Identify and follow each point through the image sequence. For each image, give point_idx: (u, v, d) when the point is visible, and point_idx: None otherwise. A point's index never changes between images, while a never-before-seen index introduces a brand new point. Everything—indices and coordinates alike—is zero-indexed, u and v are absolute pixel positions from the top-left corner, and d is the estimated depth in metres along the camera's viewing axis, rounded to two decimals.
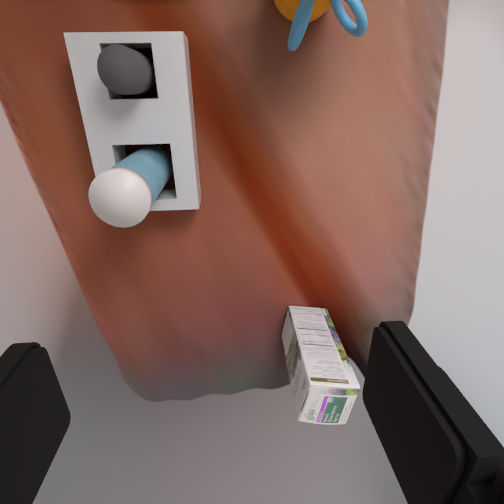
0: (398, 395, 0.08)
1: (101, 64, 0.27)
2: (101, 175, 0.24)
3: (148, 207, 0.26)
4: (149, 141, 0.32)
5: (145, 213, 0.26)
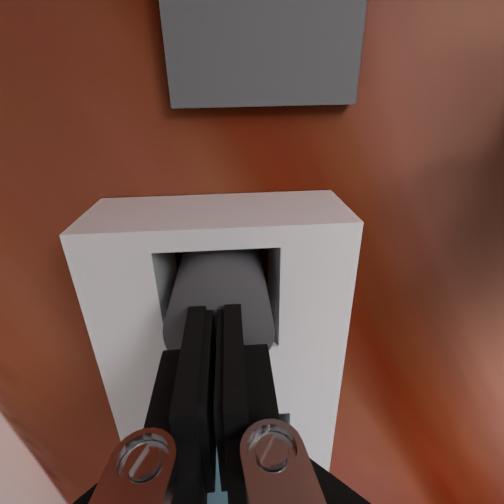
0: None
1: (173, 326, 0.10)
2: None
3: None
4: None
5: None
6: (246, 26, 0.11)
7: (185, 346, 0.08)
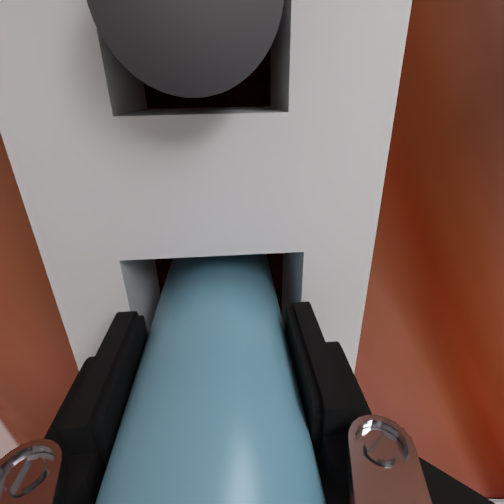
0: (294, 366, 0.09)
1: None
2: None
3: None
4: (240, 248, 0.10)
5: None
6: None
7: (100, 353, 0.08)
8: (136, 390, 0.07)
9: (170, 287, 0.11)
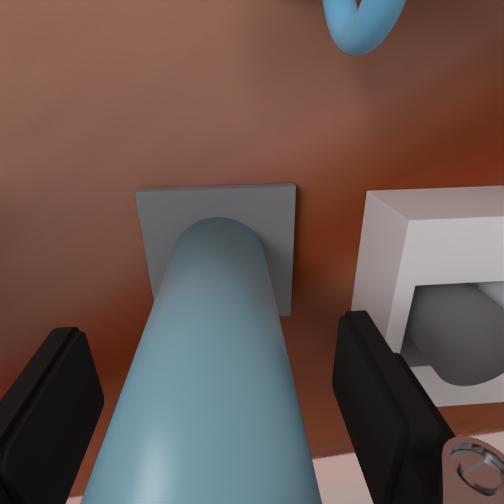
0: (357, 379, 0.08)
1: (459, 380, 0.14)
2: None
3: None
4: None
5: None
6: None
7: (23, 376, 0.08)
8: (141, 346, 0.08)
9: (172, 267, 0.12)
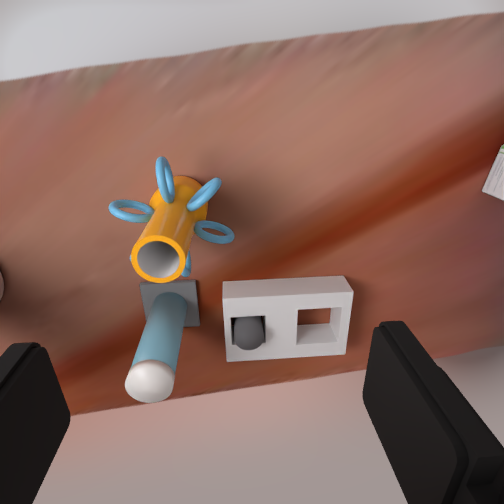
0: (398, 395, 0.08)
1: (245, 348, 0.41)
2: (135, 372, 0.31)
3: (172, 389, 0.32)
4: (295, 322, 0.42)
5: (169, 393, 0.33)
6: None
7: None
8: (142, 336, 0.36)
9: (151, 313, 0.40)
